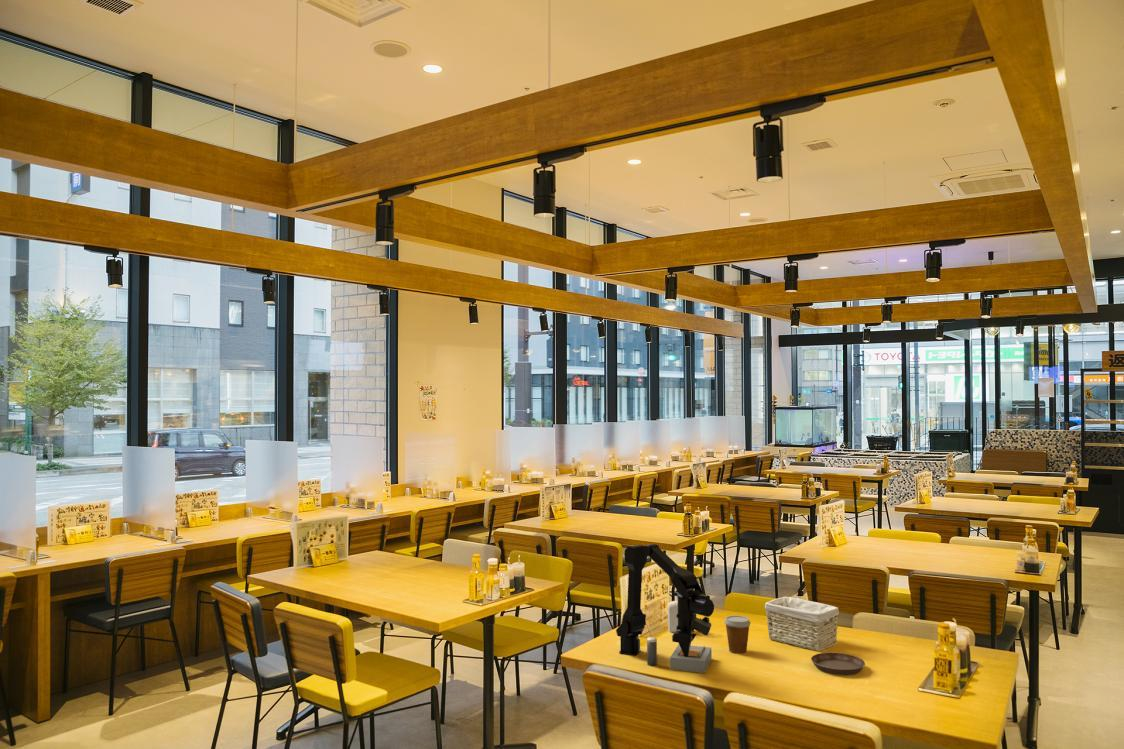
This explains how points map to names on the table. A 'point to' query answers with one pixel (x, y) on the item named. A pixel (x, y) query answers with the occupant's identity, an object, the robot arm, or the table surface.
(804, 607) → the storage basket
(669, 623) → the photo printer
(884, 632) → the table surface
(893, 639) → the table surface
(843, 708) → the table surface
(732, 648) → the disposable coffee cup
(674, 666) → the socket
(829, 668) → the plant saucer
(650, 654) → the grey cylinder
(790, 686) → the table surface
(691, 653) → the shutter
